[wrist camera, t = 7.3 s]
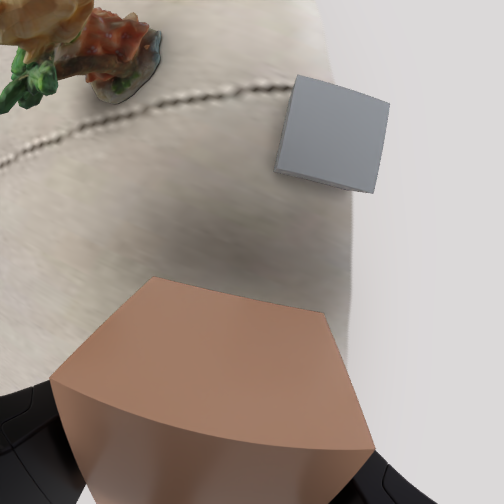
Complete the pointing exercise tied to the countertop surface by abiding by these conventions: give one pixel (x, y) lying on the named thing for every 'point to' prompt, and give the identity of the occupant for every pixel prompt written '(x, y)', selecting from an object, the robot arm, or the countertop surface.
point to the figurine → (74, 50)
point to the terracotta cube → (211, 403)
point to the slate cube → (332, 135)
